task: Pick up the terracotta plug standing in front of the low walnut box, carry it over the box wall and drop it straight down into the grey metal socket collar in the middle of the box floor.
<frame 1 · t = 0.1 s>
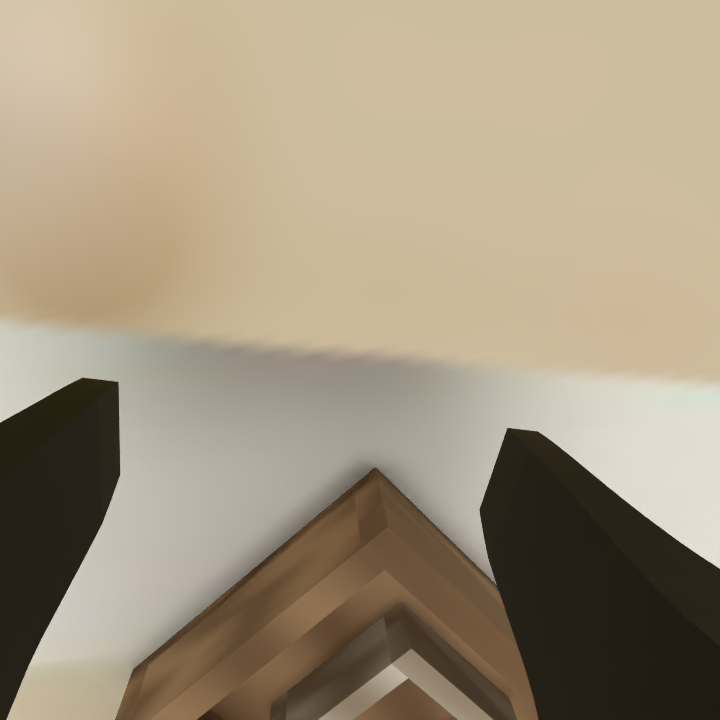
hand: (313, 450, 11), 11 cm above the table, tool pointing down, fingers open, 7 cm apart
box: (390, 689, 26), on the table
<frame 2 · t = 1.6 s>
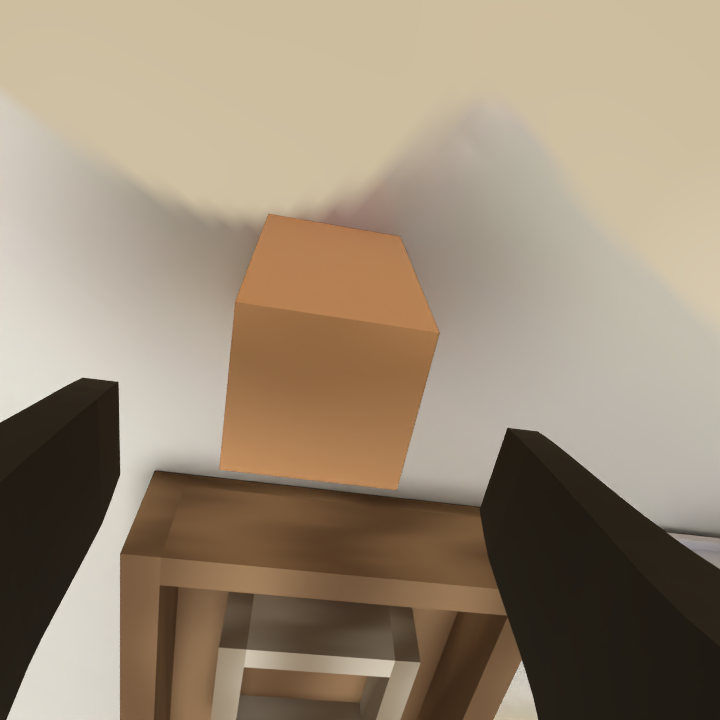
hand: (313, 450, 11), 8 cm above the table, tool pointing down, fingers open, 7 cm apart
plug: (324, 287, 18), on the table
box: (309, 647, 26), on the table
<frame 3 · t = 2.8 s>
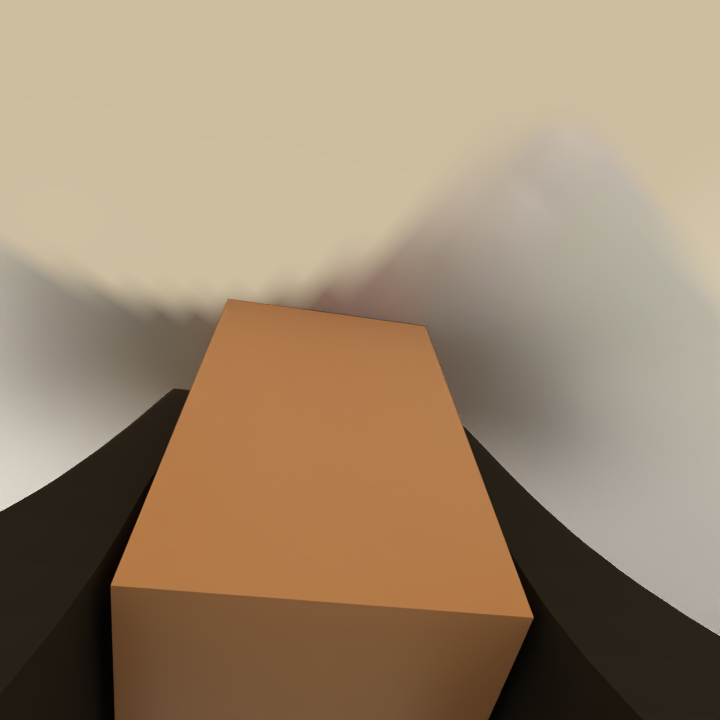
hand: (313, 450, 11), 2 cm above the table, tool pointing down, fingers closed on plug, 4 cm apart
plug: (315, 397, 13), on the table, touching gripper
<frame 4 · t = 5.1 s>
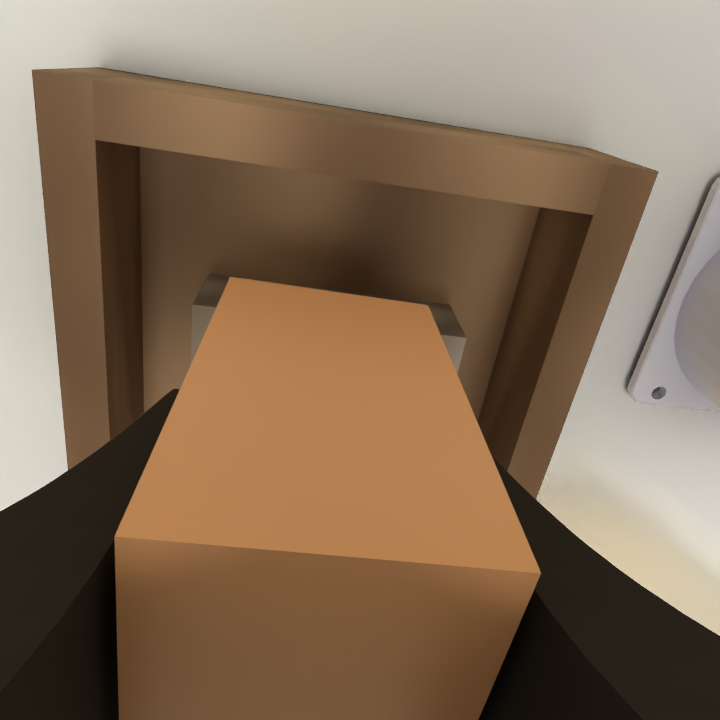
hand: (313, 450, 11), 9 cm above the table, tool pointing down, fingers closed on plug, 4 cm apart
plug: (317, 377, 12), point 7 cm above the table, touching gripper
box: (318, 384, 20), on the table
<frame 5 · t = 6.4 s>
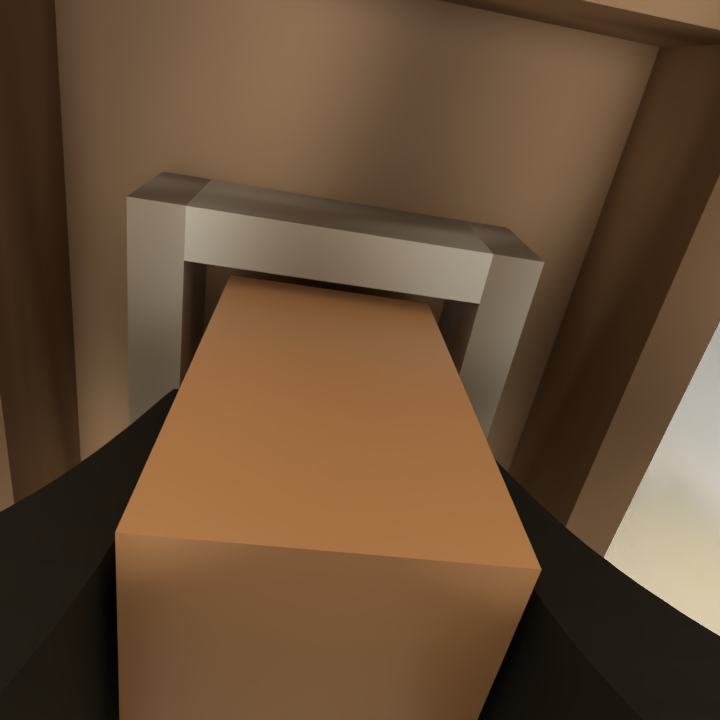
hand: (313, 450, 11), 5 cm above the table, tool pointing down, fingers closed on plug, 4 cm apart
plug: (317, 376, 12), point 2 cm above the table, touching gripper
box: (318, 343, 15), on the table
when the fingers open (4 cm above the table, at t = 7.5 s): plug stays where it is, resting on box.
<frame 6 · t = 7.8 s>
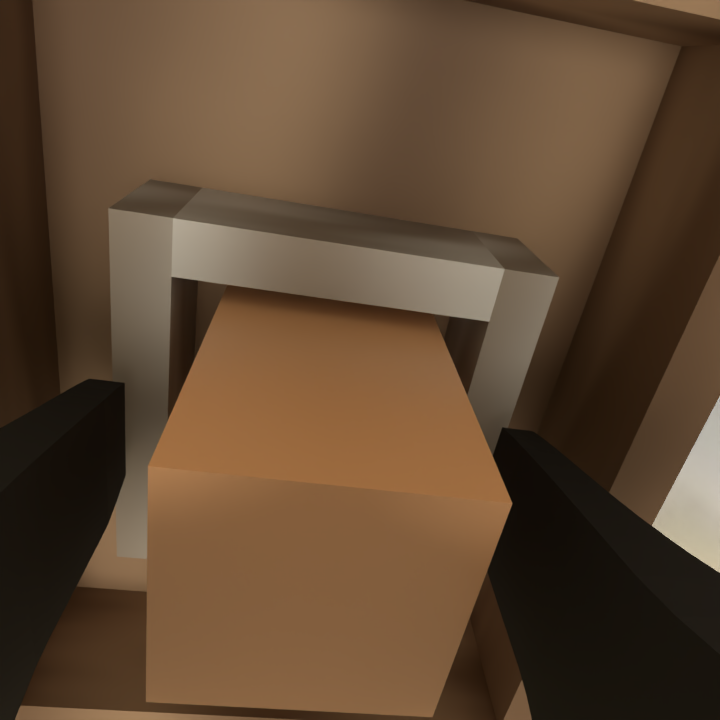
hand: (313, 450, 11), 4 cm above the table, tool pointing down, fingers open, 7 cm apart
plug: (318, 355, 13), point 1 cm above the table, touching box
box: (316, 359, 14), on the table
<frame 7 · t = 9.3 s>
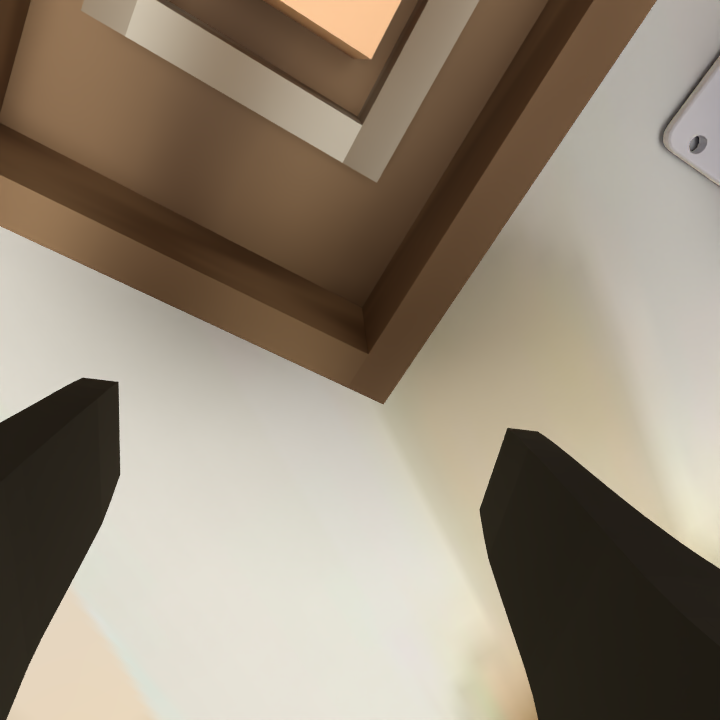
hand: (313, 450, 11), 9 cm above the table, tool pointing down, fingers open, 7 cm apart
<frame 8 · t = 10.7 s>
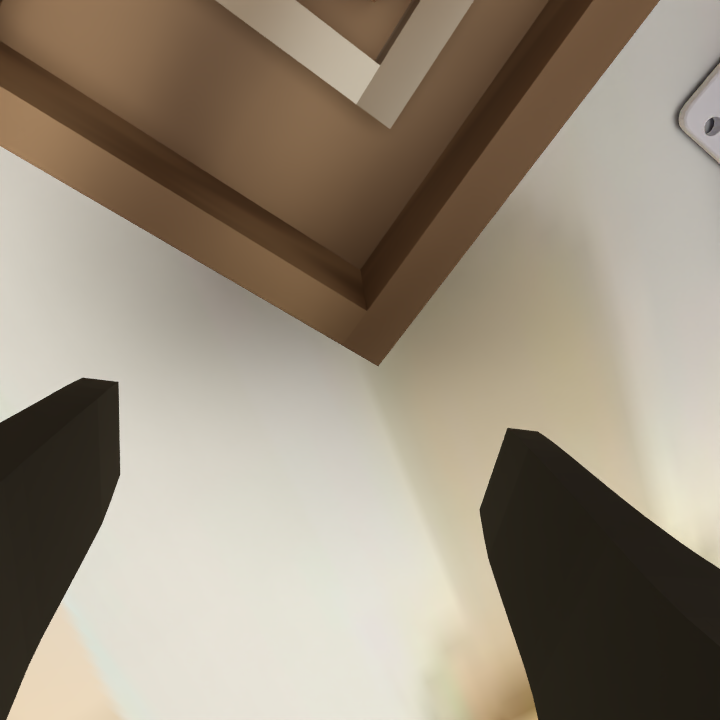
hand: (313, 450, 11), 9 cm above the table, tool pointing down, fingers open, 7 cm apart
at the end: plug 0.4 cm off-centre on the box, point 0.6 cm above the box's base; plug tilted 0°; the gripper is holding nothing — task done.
